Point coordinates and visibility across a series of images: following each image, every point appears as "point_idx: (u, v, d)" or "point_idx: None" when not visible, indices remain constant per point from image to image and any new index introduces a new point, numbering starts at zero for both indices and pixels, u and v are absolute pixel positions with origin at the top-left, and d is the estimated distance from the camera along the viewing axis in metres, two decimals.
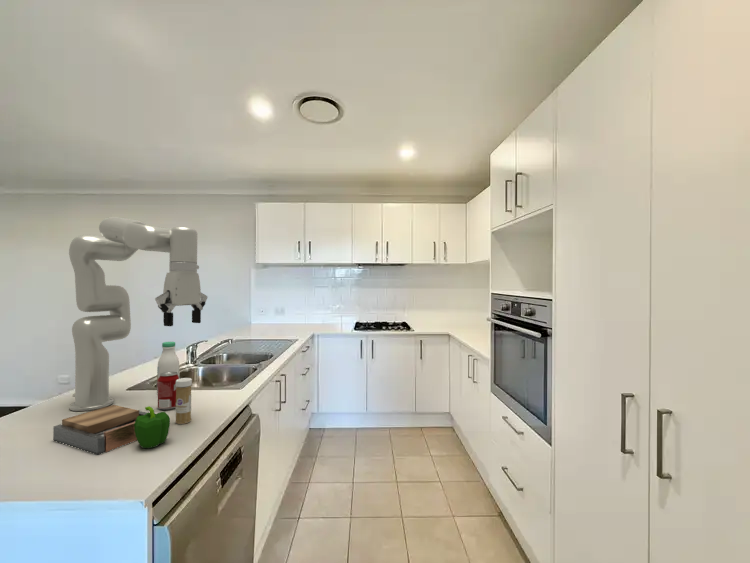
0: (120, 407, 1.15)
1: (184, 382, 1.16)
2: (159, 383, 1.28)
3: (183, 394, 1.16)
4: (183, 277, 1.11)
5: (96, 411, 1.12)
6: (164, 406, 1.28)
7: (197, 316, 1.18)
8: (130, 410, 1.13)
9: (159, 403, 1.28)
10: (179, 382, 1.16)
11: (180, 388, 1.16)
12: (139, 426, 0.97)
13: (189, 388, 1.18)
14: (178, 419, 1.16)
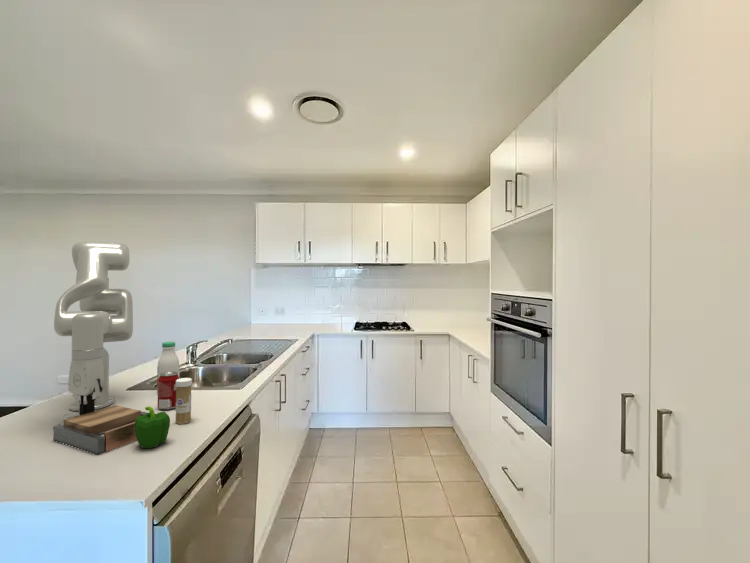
0: (122, 407, 1.15)
1: (184, 382, 1.16)
2: (159, 383, 1.28)
3: (183, 394, 1.16)
4: None
5: (98, 411, 1.11)
6: (164, 406, 1.28)
7: None
8: (132, 410, 1.12)
9: (159, 403, 1.28)
10: (179, 382, 1.16)
11: (180, 388, 1.16)
12: (139, 426, 0.97)
13: (189, 388, 1.18)
14: (178, 419, 1.16)
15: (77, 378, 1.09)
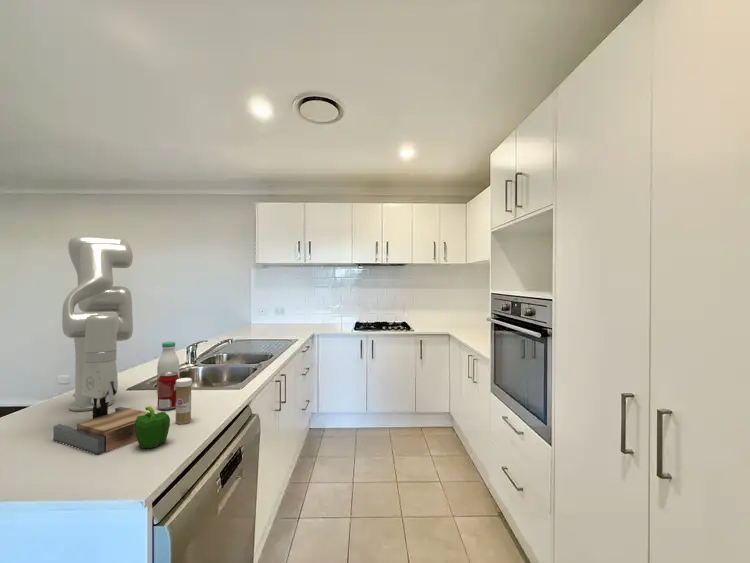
0: (135, 410, 1.13)
1: (184, 382, 1.16)
2: (159, 383, 1.28)
3: (183, 394, 1.16)
4: None
5: (111, 415, 1.09)
6: (164, 406, 1.28)
7: None
8: None
9: (159, 403, 1.28)
10: (179, 382, 1.16)
11: (180, 388, 1.16)
12: (139, 426, 0.97)
13: (189, 388, 1.18)
14: (178, 419, 1.16)
15: (90, 381, 1.07)
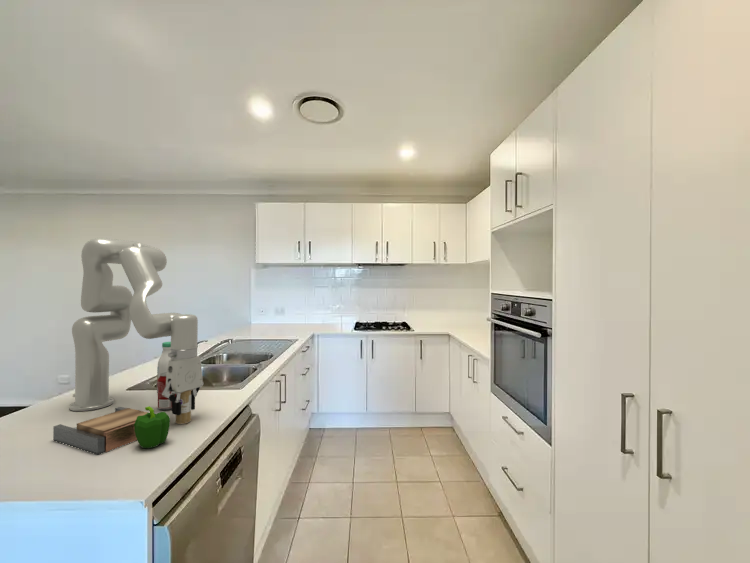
0: (135, 410, 1.13)
1: None
2: (159, 383, 1.28)
3: (183, 394, 1.16)
4: None
5: (111, 415, 1.09)
6: (164, 406, 1.28)
7: None
8: None
9: (159, 403, 1.28)
10: None
11: None
12: (139, 426, 0.97)
13: None
14: (178, 419, 1.16)
15: (190, 374, 1.17)
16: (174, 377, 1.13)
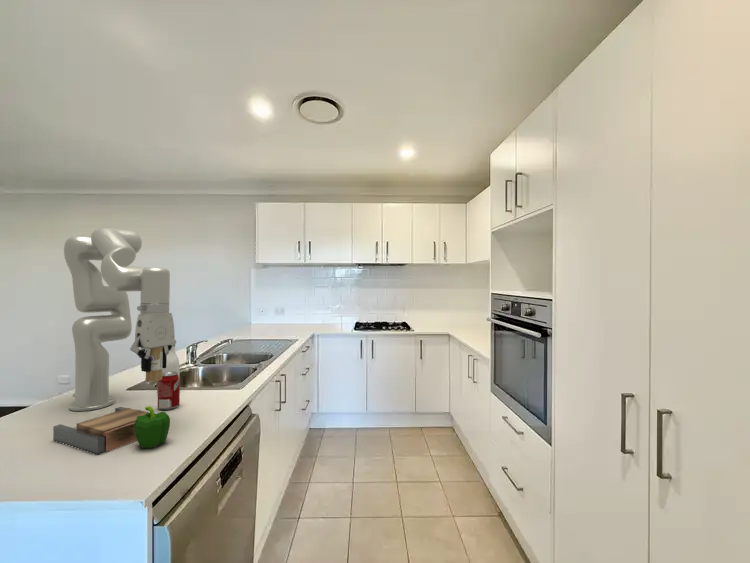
0: (135, 410, 1.13)
1: None
2: (159, 383, 1.28)
3: (153, 350, 1.11)
4: None
5: (111, 415, 1.09)
6: (164, 406, 1.28)
7: None
8: None
9: (159, 403, 1.28)
10: None
11: None
12: (139, 426, 0.97)
13: None
14: (148, 377, 1.11)
15: (161, 330, 1.12)
16: (143, 331, 1.07)
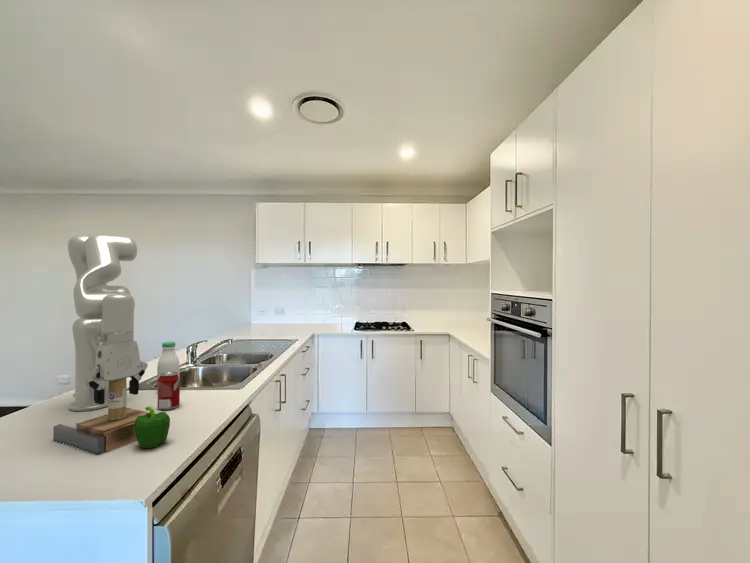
0: (135, 410, 1.13)
1: None
2: (159, 383, 1.28)
3: (115, 387, 1.04)
4: None
5: None
6: (164, 406, 1.28)
7: None
8: None
9: (159, 403, 1.28)
10: None
11: (112, 381, 1.04)
12: (139, 426, 0.97)
13: (123, 381, 1.06)
14: (110, 416, 1.04)
15: (124, 361, 1.05)
16: (103, 363, 1.01)
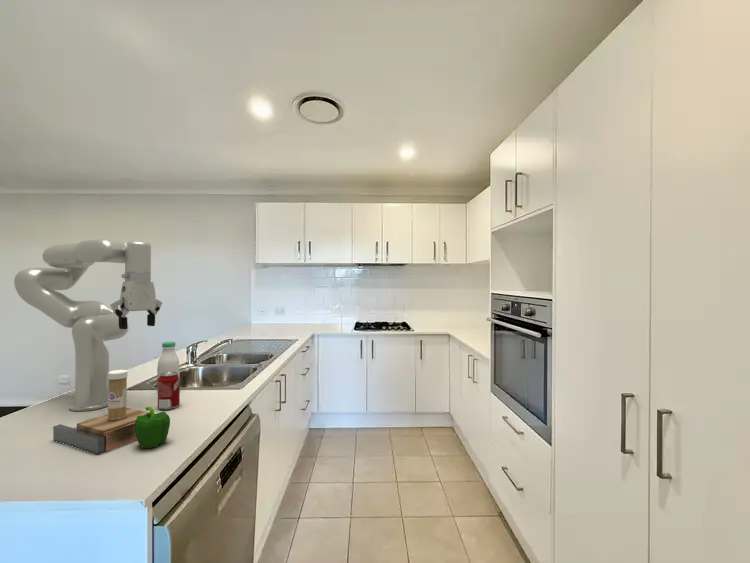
0: (135, 410, 1.13)
1: (117, 374, 1.05)
2: (159, 383, 1.28)
3: (115, 387, 1.04)
4: None
5: None
6: (164, 406, 1.28)
7: None
8: None
9: (159, 403, 1.28)
10: (111, 375, 1.04)
11: (112, 381, 1.04)
12: (139, 426, 0.97)
13: (123, 381, 1.06)
14: (110, 416, 1.04)
15: (143, 296, 1.28)
16: (127, 296, 1.23)
